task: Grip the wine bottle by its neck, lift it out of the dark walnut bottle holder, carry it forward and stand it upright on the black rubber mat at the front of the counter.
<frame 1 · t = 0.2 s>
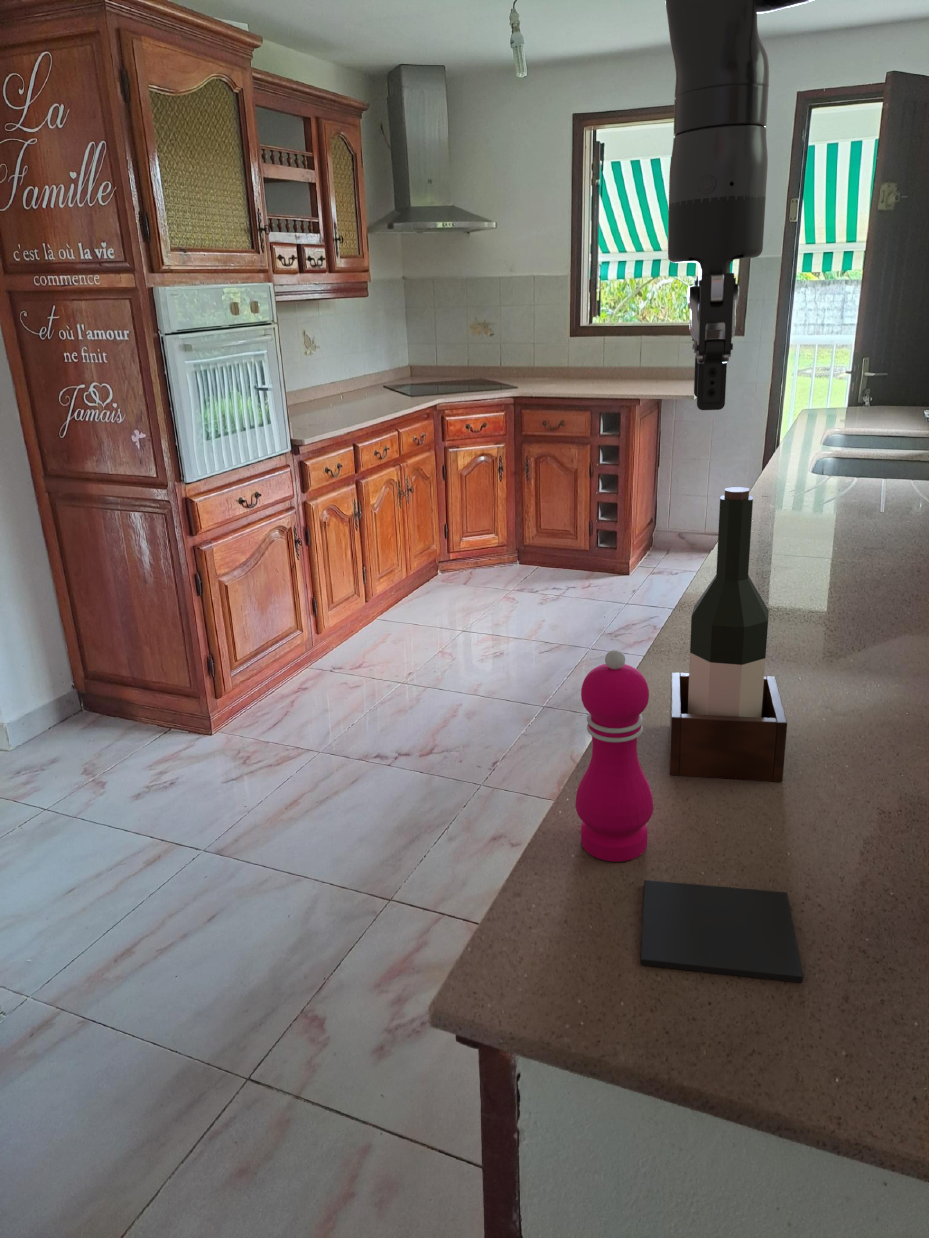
hand: (708, 403, 76), 40 cm above the counter, tool pointing down, fingers open, 8 cm apart
bottle holder: (722, 751, 99), on the counter
pepper mill: (613, 844, 84), on the counter
rubber mat: (716, 930, 72), on the counter
wine bottle: (722, 753, 99), resting in bottle holder
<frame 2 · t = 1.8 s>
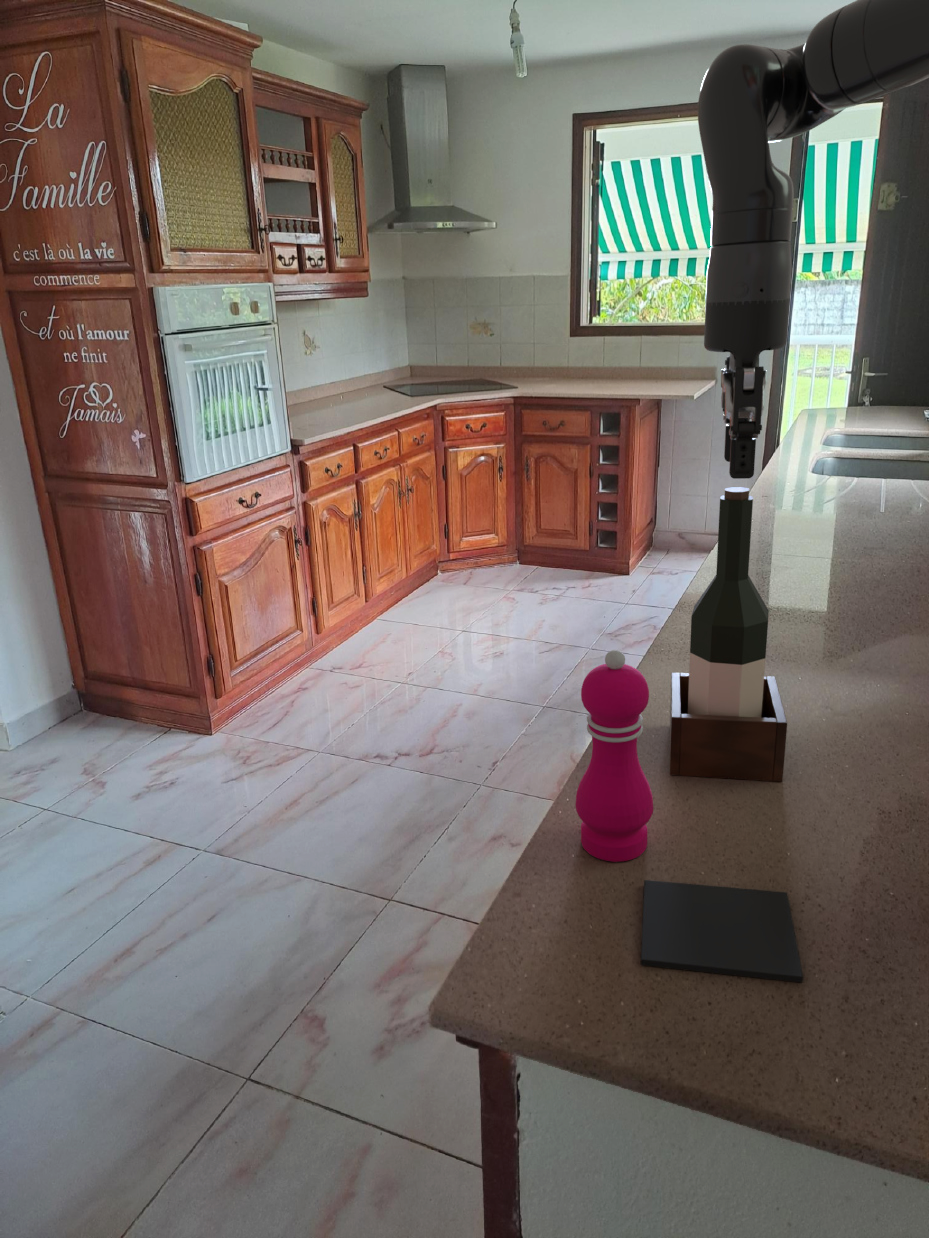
hand: (738, 469, 88), 32 cm above the counter, tool pointing down, fingers open, 8 cm apart
nothing on the counter moved.
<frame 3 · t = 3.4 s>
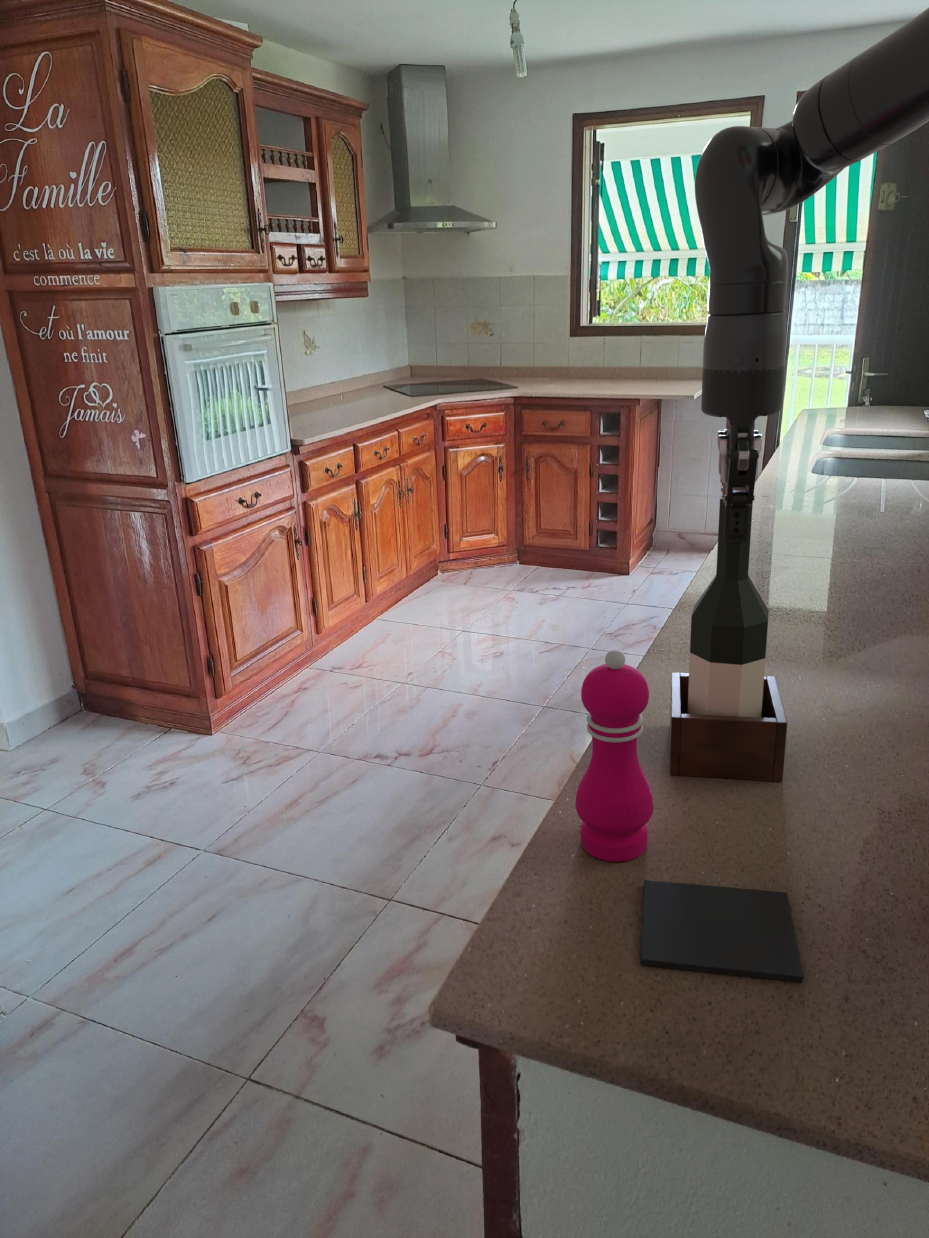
hand: (733, 536, 90), 25 cm above the counter, tool pointing down, fingers closed on wine bottle, 3 cm apart
wine bottle: (722, 753, 99), resting in bottle holder, touching gripper
everything else where it was.
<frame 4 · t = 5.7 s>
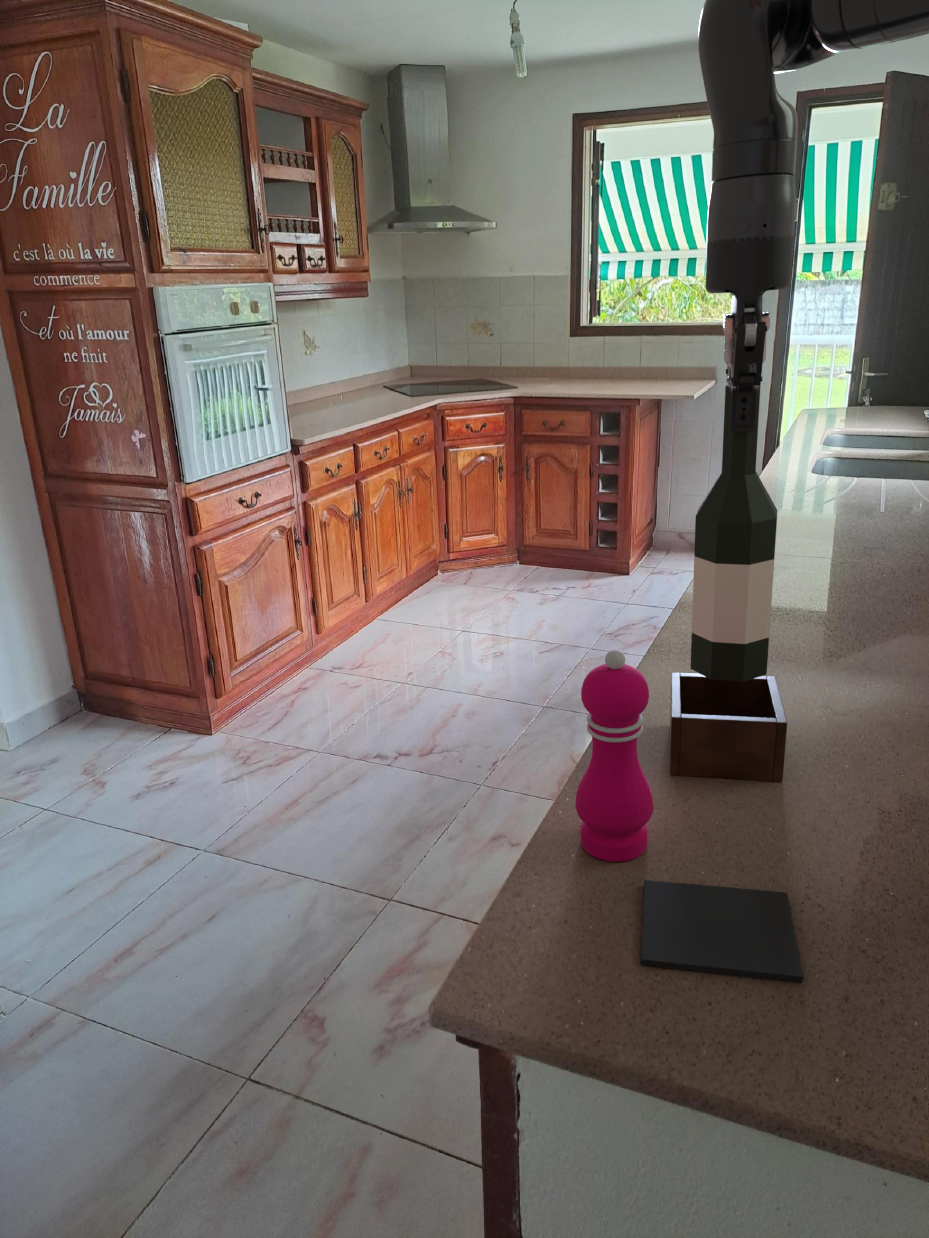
hand: (740, 427, 85), 36 cm above the counter, tool pointing down, fingers closed on wine bottle, 3 cm apart
wine bottle: (728, 667, 94), point 11 cm above the counter, touching gripper
everything else where it was.
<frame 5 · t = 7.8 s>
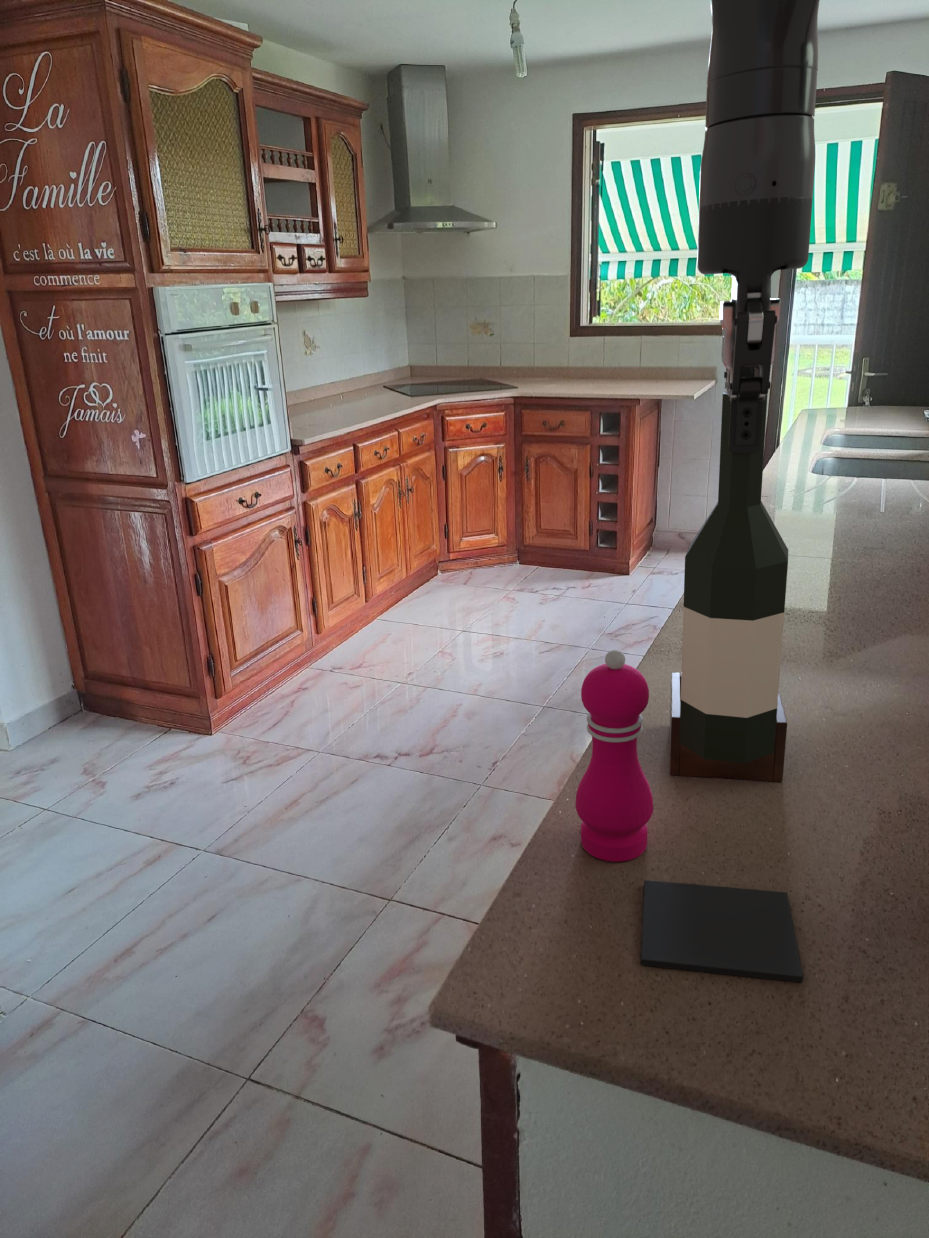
hand: (742, 446, 67), 38 cm above the counter, tool pointing down, fingers closed on wine bottle, 3 cm apart
wine bottle: (726, 741, 76), point 13 cm above the counter, touching gripper
everything else where it was.
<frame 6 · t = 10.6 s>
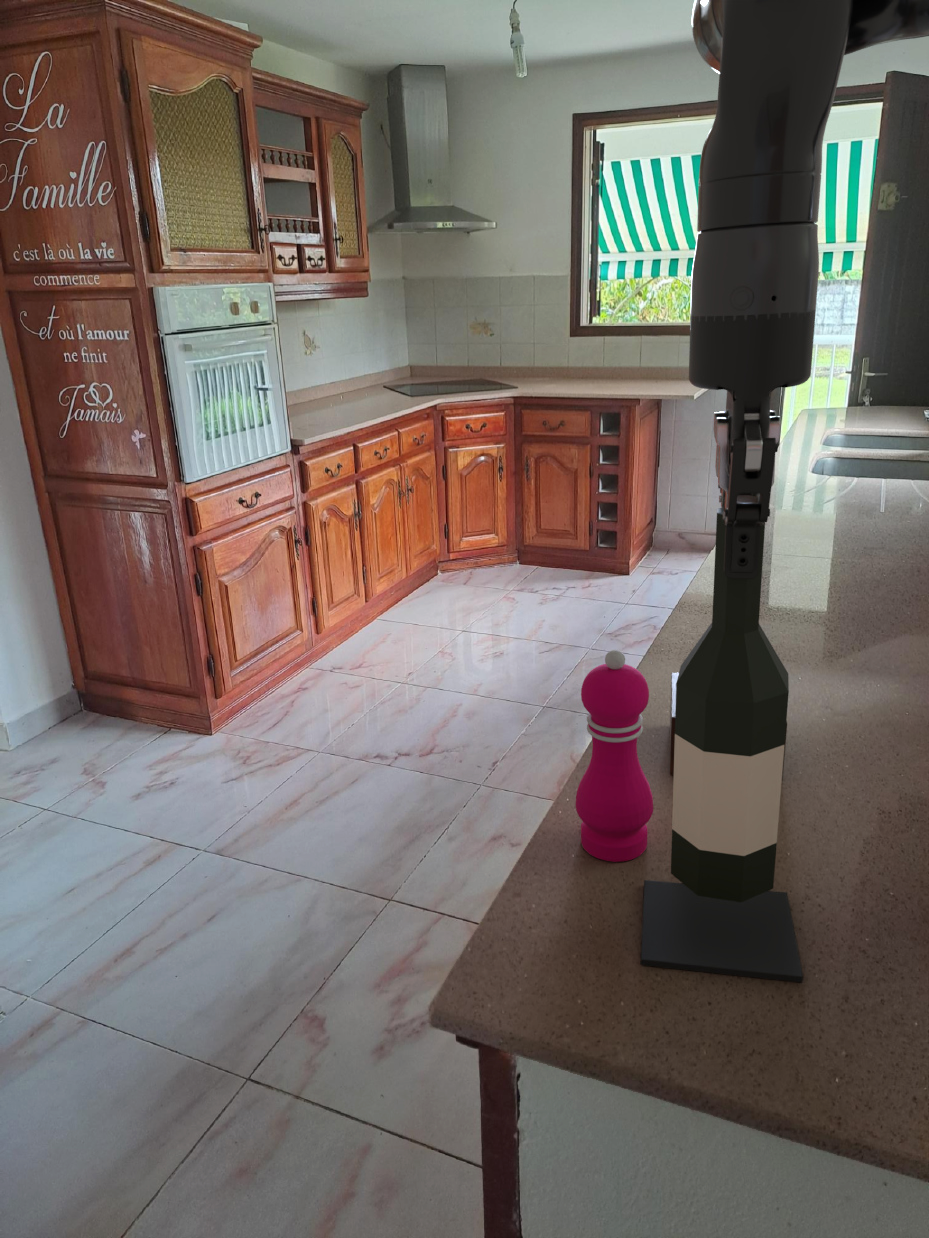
hand: (738, 567, 61), 31 cm above the counter, tool pointing down, fingers closed on wine bottle, 3 cm apart
wine bottle: (722, 870, 70), point 6 cm above the counter, touching gripper
everything else where it was.
when the fingers open (26 cm above the counter, at t = 12.4 s): wine bottle stays where it is, resting on rubber mat.
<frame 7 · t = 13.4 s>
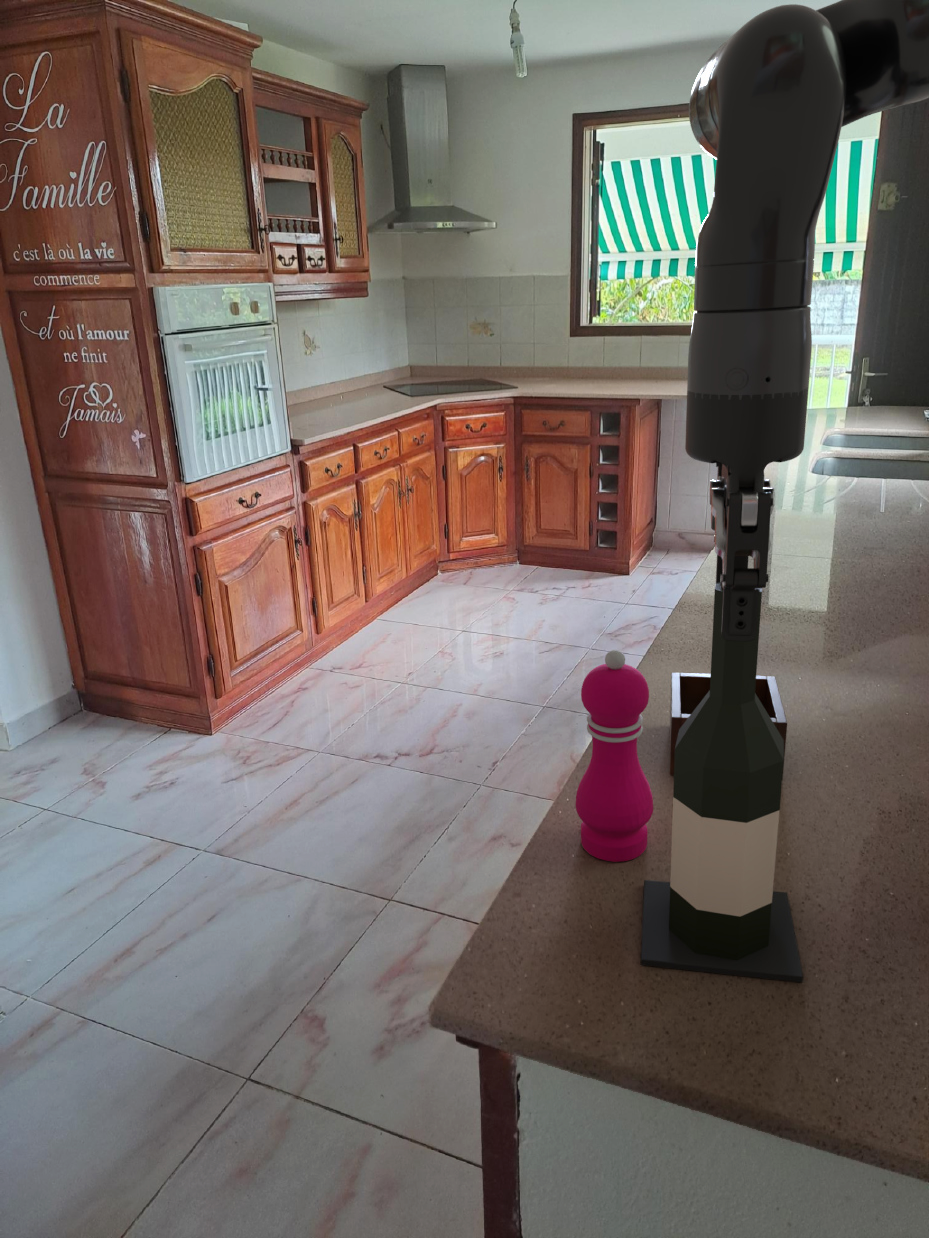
hand: (734, 617, 63), 28 cm above the counter, tool pointing down, fingers open, 8 cm apart
wine bottle: (718, 926, 72), resting on rubber mat
everything else where it was.
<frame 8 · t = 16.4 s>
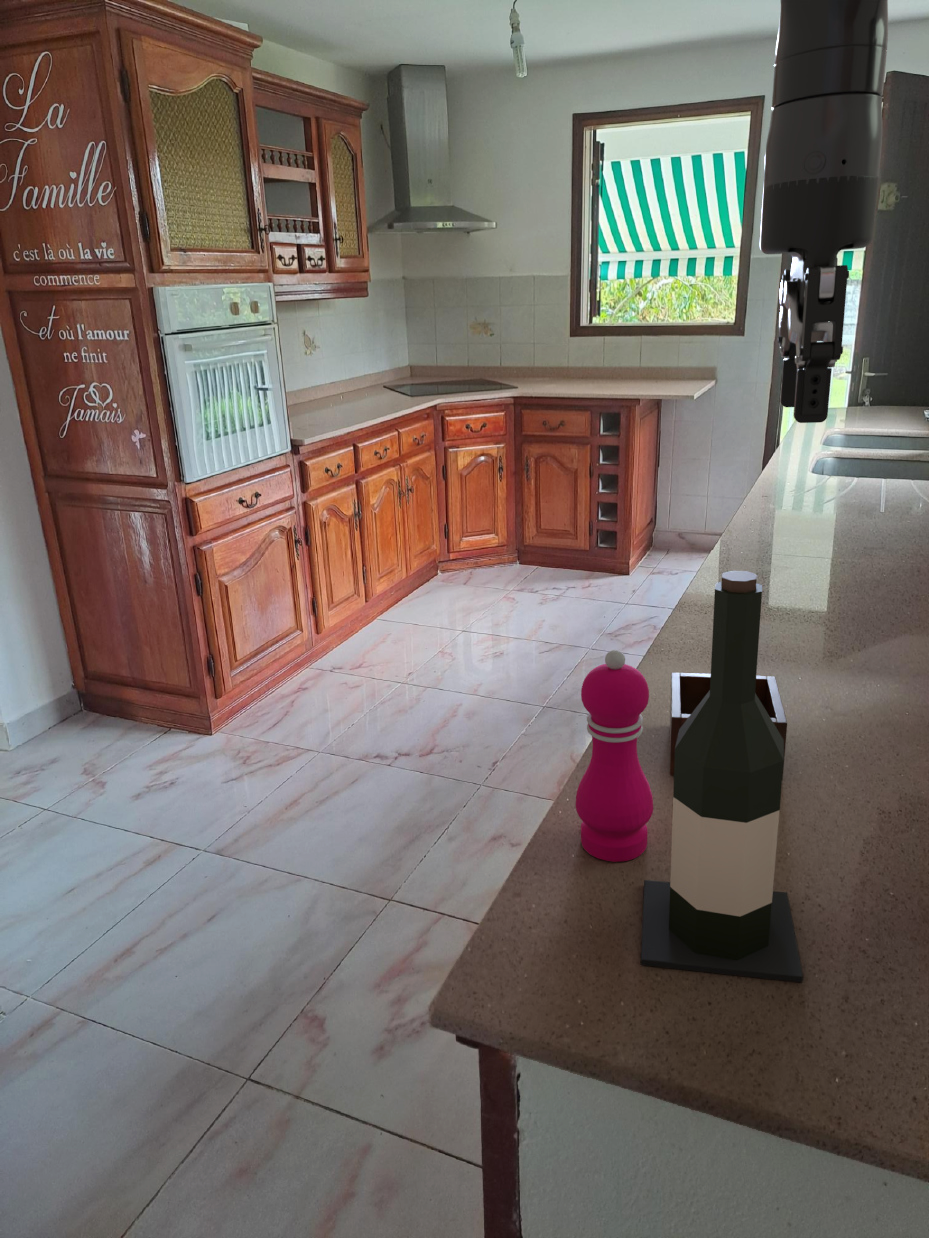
hand: (801, 413, 67), 40 cm above the counter, tool pointing down, fingers open, 8 cm apart
nothing on the counter moved.
at the end: wine bottle inside the target area on the rubber mat (0.1 cm from its centre), point 0.4 cm above the rubber mat's base; wine bottle tilted 0°; the gripper is holding nothing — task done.
